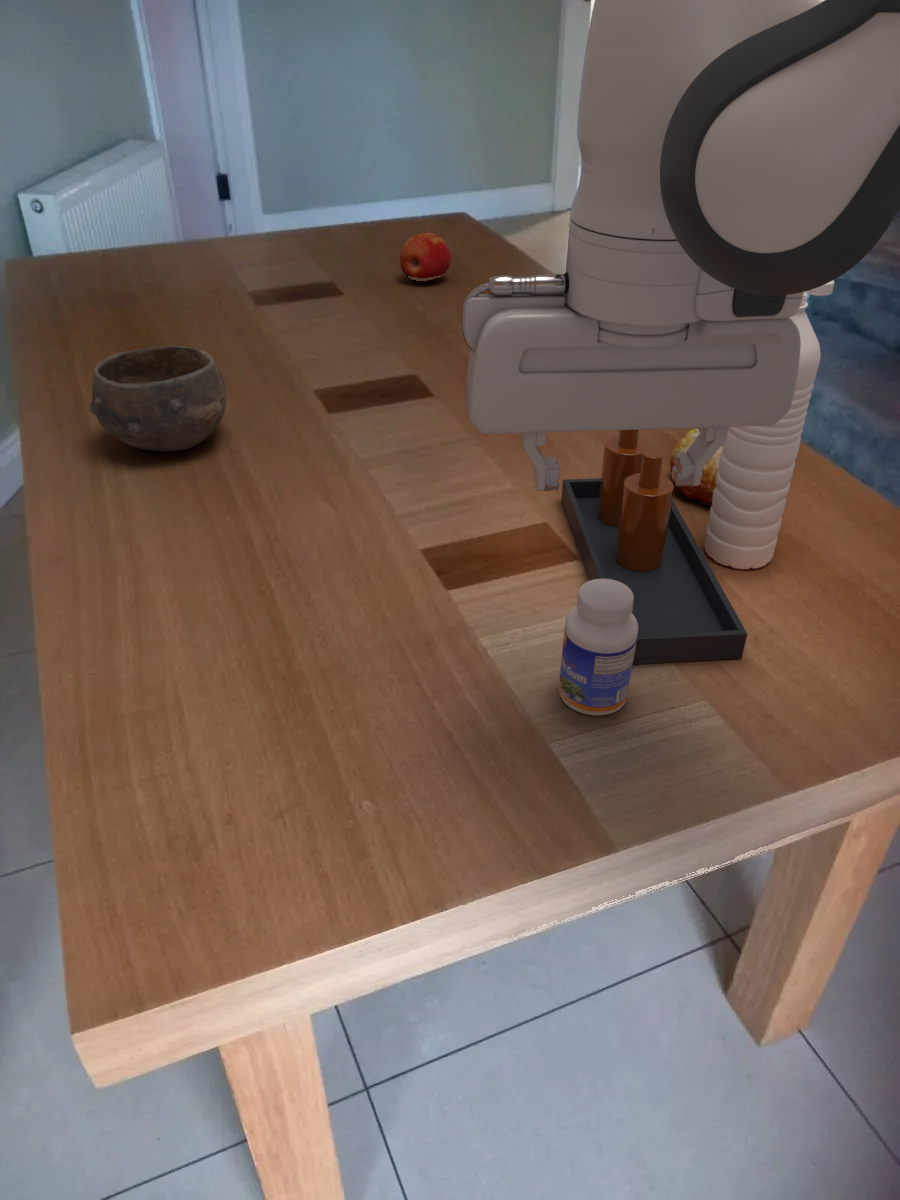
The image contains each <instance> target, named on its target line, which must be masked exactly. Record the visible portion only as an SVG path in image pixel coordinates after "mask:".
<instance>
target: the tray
mask: <svg viewBox="0 0 900 1200" xmlns="http://www.w3.org/2000/svg"><path fill="white" fill-rule="evenodd" d="M600 484H601V477H596V478H595V477H594V478H573V479H572V478H571V479H562V486H561V487H562V488H561V499H560V500H561V505H562V507H563V510H564V513H565V515H566V518H567V521H568V524H569V527H570V529H571V532H572V536H573V538H574V541H575V544H576V547H577V549H578V552H579V555H580V558H581V560H582V563H583V565H584V568H585V572H586V574H587V577H588V579H589V580H588V581H591V580H594V579H611V580H615V581H618V582H621V583H623V584H625V585H626V586H627V587H629V588H630V590H631V591H632V593H633V595H634V601H633V611H632V614H633V615H634V616H635V618H636V620H637V623H638V635H637V642H636V648H635V654H634V660H633V665H644V664H661V663H664V664H665V663H680V662H681V663H682V662H683V663H684V662H701V661H702V662H703V661H717V660H718V661H720V660H721V661H722V660H738V659H739V660H740V659H743V654H744V650H745V648H746V647H745V646H746V642H747V638H748V632H747V629H745V627H744V625H743V623H742V621H741V620H740V617H739V616H738V613H737V612H736V611H735V609H734V606H733V605H732V603H731V602H730V599H729V598H728V596H727V594H726V593H725V591H724V590H723V587H722V586H721V584H720V582H719V581H718V578H717V576H716V575H715V573H714V571H713V569H712V568H711V566H710V564H709V562H708V561H707V558H706V557H705V555H704V554H703V552H702V550H701V548H700V547H699V544H698V543H697V541H696V539H695V537H694V536H693V534H692V532H691V530H690V529H689V527H688V525H687V523H686V521H685V519H684V517H683V516H682V514H681V512H680V510H679V509H678V507H677V506H676V504H675V502H674V500H673V499H672V502H671V509H670V515H669V521H668V528H667V534H666V540H665V547H664V553H663V560H662V564H661V565H660V566H659V567H658V568H657V569H655V570H652V571H646V572H638V571H632V570H629V569H626V568H624V567H622V566H621V565H619V564H618V563H617V561H616V559H615V552H616V543H617V535H618V527H615V526H610V525H607V524H605V523H603V522H602V521H601V520H600V519H599V518H598V515H597V513H598V503H599V494H600Z"/></svg>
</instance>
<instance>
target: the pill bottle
mask: <svg viewBox="0 0 900 1200" xmlns="http://www.w3.org/2000/svg"><path fill="white" fill-rule="evenodd" d="M577 593H578V594H577V601H576V605H575V606H573V607H572V608H571V609H570V610H569V612H568V613H567V615H566V618H565V622H564V630H563V639H562V640H563V641H562V650H561V661H560V669H559V671H560V672H559V680H558V692H559V696H560V698H561V700H562V701H563V702H564V704H565V705H567V707H568V708H570V709H572V710H573V711H576V712H578V713H581V714H583V715H589V716H607V715H610V714H613V713H615V712H617V711H619V710H620V709H621V708H622V707H624V705H626V702H627V699H628V695H629V689H630V683H631V677H632V670H633V665H634V664H633V660H634V654H635V648H636V642H637V635H638V623H637V620H636V618H635V616H634V615H633V614H632V611H633V601H634V595H633V593H632V591H631V590H630V588H629V587H627V586H626V585H625V584H623V583H621V582H618V581H615V580H611V579H594V580H591V581H590V580H588V581H586V582H584V583H583V584H582V585H581V586H580V587H579V589H578V592H577Z"/></svg>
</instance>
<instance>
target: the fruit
mask: <svg viewBox="0 0 900 1200" xmlns="http://www.w3.org/2000/svg"><path fill="white" fill-rule="evenodd" d="M699 434H700V432H699V430H698V429H697V428H692V429H691V430H689V431H687V432H686V433H685V436H684V437H682V438H680V441H678V442H677V443H676V444H675V446H674V448H673V449H672V451H671V452H670V458H669V466H670V471H669V473H670V474H672V468H673V466H674V465H675V464H674V462H673V460H674V454H675V453H684V452H687V450H688V449H689V448H690V446H691V445H692V443H693V442H694V441H695V439H696V438H697V437H698V435H699ZM722 450H723V449H722V446H721V447H720V448H719V449H718V451H717V452H716V453H715V454H714V455H713V456H712V457H711V459H710V460H709V461H708V462H707V463H706V464H704V466H703V471H702V477H701V482H700V485H699V486H676V485H675V483H676V482H675V481H673V484H674V489H677V490H678V491H677V492H678V493H680V494H681V495H684V496H685V498H686V499H688V500H690V501H697V502H699V504H700V505H703V506H707V507H711V506H712V498H713V492H714V489H715V488H716V476H717V472H718V471H719V460H720V455H721V452H722Z"/></svg>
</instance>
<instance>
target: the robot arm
mask: <svg viewBox="0 0 900 1200" xmlns="http://www.w3.org/2000/svg"><path fill="white" fill-rule="evenodd" d="M580 81H581V82H580V91H579V101H578V111H577V124H576V136H577V143H578V149H579V154H580V155H579V156H580V175H579V181H578V186H577V189H576V193H575V194H574V197H573V200H572V204H571V207H570V212H569V213H570V214H569V225H568V238H567V239H568V240H567V251H566V252H567V253H566V264H565V273H553V274H551V273H550V274H534V275H528V276H527V275H526V276H513V275H509V274H501V275H494V276H491V277H489V278H488V282H486V283H483V284H480V285H478V286H476V287H475V288H473V290H471V291H470V293H469V294H468V295H467V297H466V298H465V300H464V302H463V305H462V306H463V307H462V336H463V340H464V342H465V344H466V346H467V347H468V348H469V349H470V351H469V357H468V363H467V370H466V381H465V382H466V383H465V391H464V393H465V394H464V395H465V396H464V401H465V409H466V413H467V418H468V420H469V422H470V423H471V424H472V425H473V426H474V428H475V429H476V430H477V431H478V432H479V433H481V434H486V435H494V434H499V435H500V434H519V438H520V441H521V443H522V447H523V449H524V451H525V452H526V454H527V456H528V458H529V459H530V461H531V463H532V464H533V470H532V481H533V486H534V489H535V492H550V491H551V492H553V491H559V489H560V482H559V479H561V466H560V464H559V463H558V458H557V456H544V454H543V452H542V450H541V448H540V447H544V446H545V445H546V440H547V439H546V437H547V433H564V432H567V433H568V432H569V433H570V432H598V431H600V432H601V431H602V432H604V431H620V430H639V431H640V430H668V429H669V430H671V429H695V428H697V429H698V430H699V432H700V434H699V435H698V437H697V438H696V439H695V441H694V442H693V443H692V445H691V446H690V448H689V449H688V450H687V452H684V453H675V454H674V460H673V462H674V464H675V465H674V466H673V468H672V473H671V479H672V482H674V481H675V482H676V483H674V486H675V485H676V486H699V485H700V482H701V477H702V471H703V466H704V464H706V463H707V462H708V461H709V460H710V459H711V457H712V456H713V455H714V454H715V453H716V452H717V451H718V449H719V448H720V447H721V446H722V445H723V444H724V442H725V441H726V437H727V432H728V427H746V426H772V425H774V424H776V423H777V422H778V421H779V420H780V419H781V418H782V417H783V416H784V415H785V414H786V413H787V412H788V411H789V409H790V407H791V404H792V400H793V396H794V392H795V386H796V381H797V375H798V368H799V359H800V348H801V340H800V333H799V330H798V327H797V326H796V324H795V323H794V322H793V321H792V320H791V319H790V318H789V317H791V316H793V315H794V314H795V313H796V312H797V311H798V309H799V308H800V305H801V302H802V299H803V294H804V292H805V291H810V290H812V289H815V288H817V287H820V286H822V285H824V284H827V283H829V282H831V281H833V280H834V281H835V280H836V279H839V278H840V277H841V276H843V275H844V274H845V273H847V272H849V271H850V270H851V269H852V268H854V267H855V266H856V265H858V263H860V262H861V261H862V260H863V259H864V258H866V256H867V255H868V254H869V253H870V251H871V250H872V249H873V248H874V247H875V246H876V245H877V244H878V242H880V240H881V238H882V237H883V236H884V234H885V233H886V231H887V230H888V229H889V228H890V225H891V224H892V222H893V220H894V219H895V217H896V215H897V214H898V212H899V210H900V0H594V3H593V8H592V11H591V17H590V21H589V27H588V32H587V39H586V43H585V51H584V59H583V66H582V74H581V80H580ZM486 291H488V293H485V294H484V292H486Z"/></svg>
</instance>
